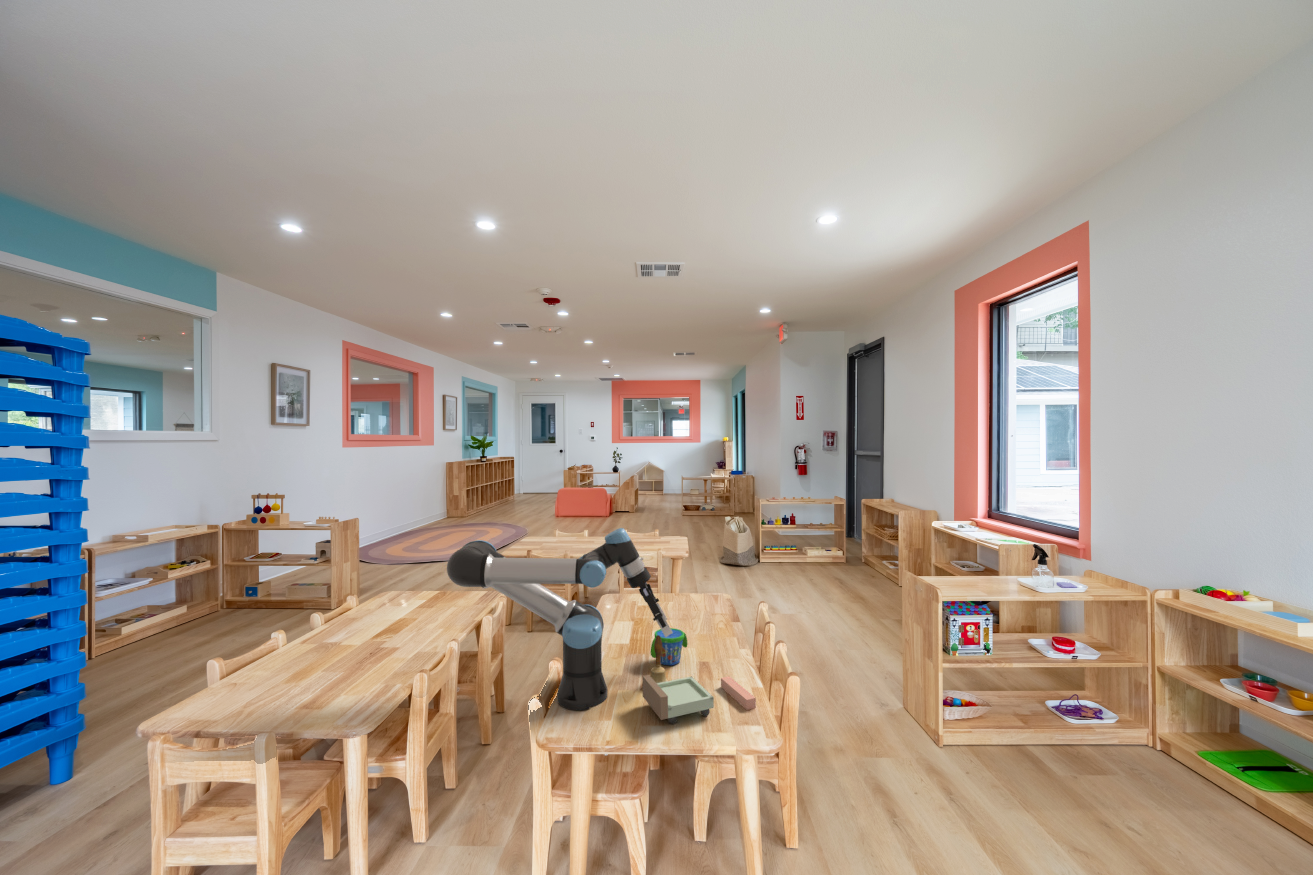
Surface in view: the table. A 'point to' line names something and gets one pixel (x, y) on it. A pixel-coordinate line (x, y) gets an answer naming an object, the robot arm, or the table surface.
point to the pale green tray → (676, 697)
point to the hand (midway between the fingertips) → (666, 627)
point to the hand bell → (658, 663)
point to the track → (738, 693)
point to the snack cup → (670, 646)
